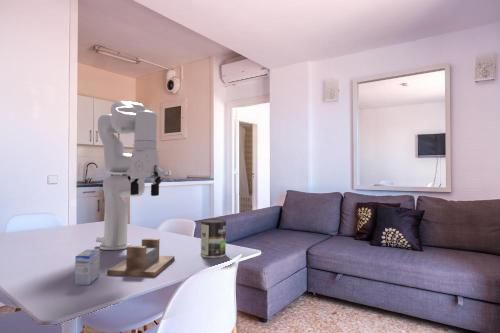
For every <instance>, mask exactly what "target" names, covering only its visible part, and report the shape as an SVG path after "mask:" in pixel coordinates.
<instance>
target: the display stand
mask: <svg viewBox="0 0 500 333" xmlns="http://www.w3.org/2000/svg"><path fill="white" fill-rule="evenodd" d="M125 258H126V259H124V260H122V261H121V262H119V263H117V264H115V265H113V266H112V267H110V268H109V269H107V271H106V276H107V275H108V276H125V277H126V276H128V277H129V276H130V277H146V278H147V277H148V278H151V277H152V278H155V277H156V276H157V275H159V274H160V273H161V272H162V271H163V270H165V269H166V268H167V267H168V266H169V265H170V264H172V263H173V262H174V261H175V260H176V258H175V255H160V238H142V239H141V245H131V246H128V247H127V248H126V257H125Z"/></svg>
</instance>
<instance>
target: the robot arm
mask: <svg viewBox="0 0 500 333" xmlns="http://www.w3.org/2000/svg"><path fill="white" fill-rule="evenodd" d="M97 131H98V136H99V138H100V140H101V143H102V146H103V156H104V157H103V158H104V166H105V171H106V172H107V173H109V174H112V175H110V176H109V175H108V176H107V177H106V178H104V179H103V182H102V189H103V190H102V191H103V195H104V196H103V198H104V215H103V216H104V221H103V222H104V224H103V227H104V228H103V232H104V233H103V236H100V237H99V236H97V237H96V239H95V242H96V243H101V244H100V245H99V250H104V251H119V250H125V249H126V250H127V247H128V246H132V245H131V244H132V243H131V242H129V241H128V225H129V223H128V220H129V218H128V217H129V214H128V213H129V211H128V210H129V207H128V205H127V204H128V203H127V202H126V201H125V200H124V199H123V198H126V197H127V198H128V197H130V198H131V197H140V196H143V195H144V193H145V188H146V185H145V179H146V180H147V179H149V180H150V182H151V185H150V196H151V197H156V196H159V195H160V184H161V183H162V180H164V176H165V174H166V172H165V170H163V169H162V168H160V160H159V153H158V150H157V144H158V143H157V142H158V141H157V140H158V138H157V137H158V136H157V131H158V116H157V113H156V112H154V111H150V110H147V108H146V107H145V106H144V104H142V103H138V102H134V101H133V102H132V101H126V100H125V101H124V100H117V101H115V102H114V103H112V104H111V106H110V113H109V114H108V113H106V114H101V115H100V116H99V117H98V119H97ZM116 134H120V135H123V134H124V135H133V136H134V138H133V140H134V142H133V150H132V151H131V153H125V149H124V147H125V146H124V144H123V141H121V139H120V138H119V137H118V136H117V135H116Z"/></svg>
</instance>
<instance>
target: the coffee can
mask: <svg viewBox="0 0 500 333" xmlns="http://www.w3.org/2000/svg"><path fill="white" fill-rule="evenodd" d="M200 224H201V225H200V226H201V229H200V230H201V232H200V233H201V235H200V236H201V237H200V238H201V240H200V256H201V257H202V258H208V259H219V258H223V257H225V256H226V244H227V243H226V239H227V236H226V235H227V220H226V219H220V218H218V219H217V218H206V219H201V220H200Z"/></svg>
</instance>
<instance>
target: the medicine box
mask: <svg viewBox="0 0 500 333" xmlns="http://www.w3.org/2000/svg"><path fill="white" fill-rule="evenodd" d="M74 264H75V265H74V285H76V286H78V285H79V286H86V285H90V284H92V283H93V282H94V281H95V280H96V279H98V277H100V269H101V268H100V267H101V266H100V264H101V249H85V250H83V251H82V252H81V253H79V254H77V255H75V263H74Z"/></svg>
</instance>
